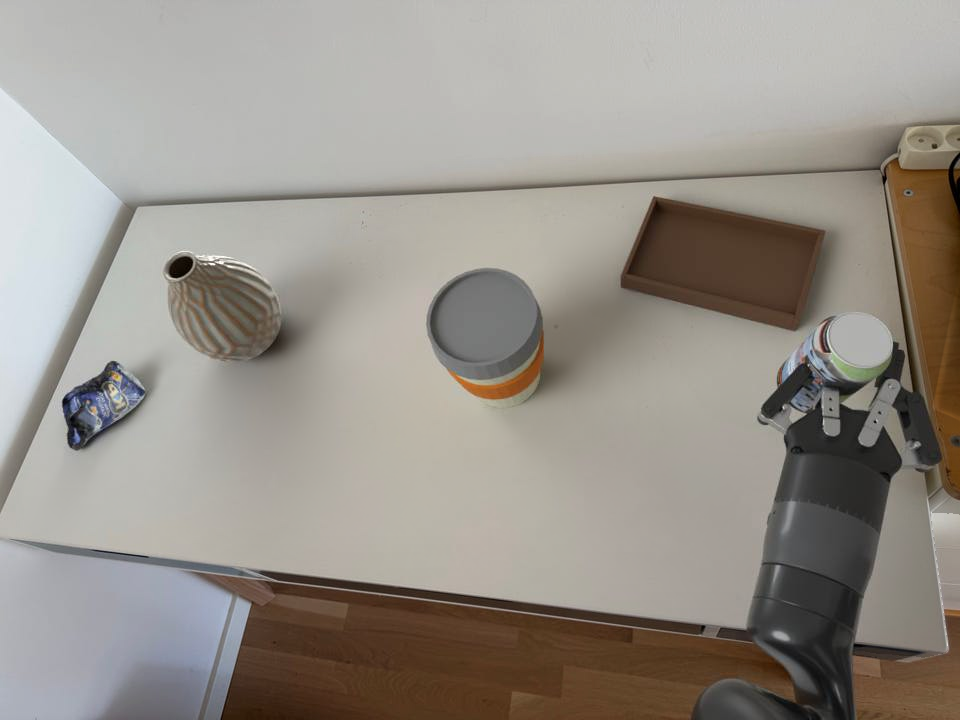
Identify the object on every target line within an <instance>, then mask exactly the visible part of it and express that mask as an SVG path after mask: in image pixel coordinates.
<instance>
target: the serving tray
mask: <svg viewBox="0 0 960 720" xmlns="http://www.w3.org/2000/svg"><path fill="white" fill-rule="evenodd" d="M825 236H826V230H825V229H820V228H815V227H811V226H806V225H801V224H795V223H791V222H786V221H781V220H775V219H770V218H766V217H760V216H755V215H750V214H746V213H740V212H735V211H731V210H730V211H729V210H725V209H720V208H715V207H711V206H705V205H700V204H696V203H691V202H685V201H681V200H675V199H670V198H665V197H660V196H655V195H654V196H652V199H651V201H650V203H649V206H648V208H647V211H646V213H645V215H644V218H643V220H642V223H641V225H640V227H639V230H638V233H637V235H636V237H635V239H634V241H633V244H632V248H631V250H630V252H629V254H628V257H627V259H626V262H625V265H624V266H623V269H622V272H621V274H620V288H622V289H626V290H630V291H634V292H638V293H642V294H646V295H650V296H652V297H653V296H654V297H657V298H662V299H666V300H669V301H674V302H677V303H681V304H685V305H689V306H693V307H697V308H701V309H704V310H708V311H713V312H716V313H721V314H725V315H729V316H732V317H737V318H740V319H744V320H747V321H752V322H756V323H760V324H764V325H768V326H771V327H775V328H780V329H784V330H788V331H791V332H796V330H797V328H798V326H799V323H800V321H801V318H802V316H803V315H802V314H803V311H804V308H805V304H806V301H807V297H808V295H809V291H810V287H811V284H812V279H813V277H814V273H815V270H816V266H817V262H818V260H819V257H820V256H819V255H820V252H821V249H822V245H823V241H824V239H825Z"/></svg>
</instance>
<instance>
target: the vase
mask: <svg viewBox="0 0 960 720" xmlns="http://www.w3.org/2000/svg"><path fill="white" fill-rule="evenodd" d="M162 269H163V270H162V273H163V278H164V279H165V280H166V281H167V284H168V285H167V297H166V298H167V299H166V300H167V308H168V309H167V310H168V313H169V316H170V319H171V322H172V324H173V326H174V328H175V330H176V332H177V333H178V334H179V336H180V337H181V338H182V339H183V341H184V342H186V343H187V344H188V345H189V346H190V347H191V348H193V350H195V351H197V352H198V353H200V354H201V355H202V356H205V357H207V358H209V359H212V360H215V361H218V362H219V361H220V362H224V363H225V362H226V363H239V362H244V361H249V360H251V359H254V358H256V357H258V356H260V355H262V354H263V353H264V352H265V351H267V350H268V349H269V348H270V346H272V344H273V343H274V342H275V340H276V338H277V337H278V335H279V333H280V329H281V325H282V314H283V313H282V308H281V307H282V306H281V302H280V299H279V297H278V295H277V292H276V290H275V288H274V287H273V285H272V284H271V283H270V282H269V280H268V279H267V278H266V277H265V276H264V275H263V274H262V273H261V272H259V270H257V269H256V268H255V267H254V266H251V265H250V264H248V263H246V262H244V261H242V260H239V259H236V258H234V257H229V256H225V255H224V256H223V255H212V254H211V255H208V254H207V255H206V254H205V255H198V254H195V253H194V252H192V251H189V250H182V251H179V252H176V253H175V254H173V255H172V256H171V257H170V258H169V259H168V260H167V261H166V262H165V264H164V266H163V268H162Z"/></svg>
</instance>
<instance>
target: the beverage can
mask: <svg viewBox="0 0 960 720" xmlns="http://www.w3.org/2000/svg"><path fill="white" fill-rule="evenodd" d="M893 341H894V340H893V336H892V334H891V332H890V330H889V329H888V327H887V325H886V324H885V323H883V321H881V319H879V318H877V317H875V316H874V315H871V314H869V313H867V312H861V311H848V312H840V313H835V314H833V315H830V316H828V317H826V318H825V319H823V320H822V321H821V322H820V323H819V324H818V325H817V326H816V327H815V328H814V330H813V331H812V332H811V333H810V334H809V335H808V336H807V337H806V338H805V339H804V340H803V341H802V342H801V343H800V345H799V346H798V347H797V348H796V349H795V350H794V351H793V352H792V354H791V355H790V356H789V357H788V358H787V359H786V360H785V361H784V362H783V363H782V364H781V366H780V367H779V369H778V372H777V375H776V386H777V388H778V387H779V386H780V385H781V384H782V383H783V382H784V381H785V380H786V379H787V378H788V376H789V375H790V374H791V373H792V372H793V371H794V370H795V369H796V368H797V367H798V366H799V365H800V364H802V363H806V364H807V366H808V367H809V368H810V370H811V371H812V374H811V376H812V377H813V378H815V379H814V380H813V382H812V383H811V385H805V386H804V387H803V388H802V389H801V390H800V391H799V392H798V394H797V395H796V396H795V397H794V398H793V399H792V400H791V401H790V402H789V403H788V405H789V406H790V407H791V408H793V409H794V410H795V411H798V412H801V413H803V414H805V415H806V414H808V413H809V412H811V411H812V410H813V401H814V391H815V389H816V390H818V391H819V390H820V381H821V380H823V381H825V382H827V383H829V384H832V385H835V386H837V387H838V388H839V403H840V404H843V403H844V402H845V401H847V400H848V399H849V398H851V397H852V396H853V395H855V394H856V393H857V392H859V391H860V390H861V389H863V388H864V387H866V386H867V385H868V384H870V383H871V382H872V381H873V380H876V377H878V376H879V375H880V374H882V373H883V372H884V371H885V370H886V368H887V367H888V365H889V363H890V361H891V358H892V348H893Z"/></svg>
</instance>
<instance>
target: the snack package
mask: <svg viewBox="0 0 960 720" xmlns="http://www.w3.org/2000/svg"><path fill="white" fill-rule="evenodd" d="M146 394H147V391H146V388H145V386H144V385H143V384H142V383H141V382H140V380H139V379H138V378H137V377H136V376H135V375H134V374H132V373H131V372H130V371H129V370H127V369H126V368H125V367H124V366H123V365H122V364H121V363H120V362H118V361H116V360H111V361H109V362H107V364H105V367H104V369H103V371H101V373H99V374H98V375H97V376H95V377H94V376H93V377H92V378H90V379H88V380H87V381H85V382H84V383H82V384H80V385H76V386H74V387H73V389H72V390H70V391H69V392H67V393H66V394H65V395H64V397H63V398H62V400H61V408H62V413H63V417H64V420H65V424H66V426H67V432H66V437H67V438H66V440H67V445H68V447H69V449H72V450H73V451H76V452H78V451H80V450H81V449H83V447H84V445H86V444H87V442H88V441H89V440H90V439H91V438H93V436H95V435H97V433H100V432H101V431H102V430H104V429H105V428H108V427H109V426H110V425H112V424H114V423H115V422H116V421H118V420H120V419H122V418H124V416H126V415H127V414H129V412H131V411H132V410H134V409H135V407H137V405H138V404H139V403H140V402H141V401H142V400H143V399H144V398H145V395H146Z"/></svg>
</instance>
